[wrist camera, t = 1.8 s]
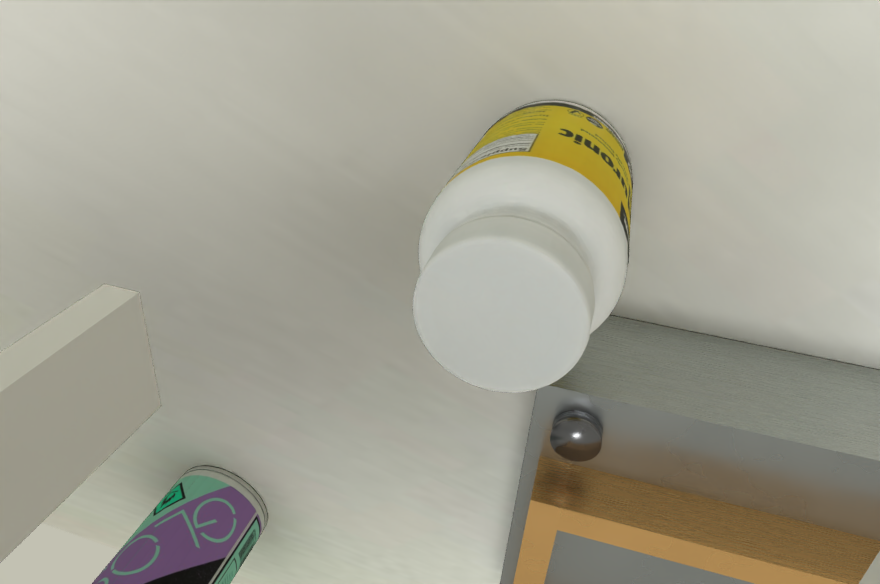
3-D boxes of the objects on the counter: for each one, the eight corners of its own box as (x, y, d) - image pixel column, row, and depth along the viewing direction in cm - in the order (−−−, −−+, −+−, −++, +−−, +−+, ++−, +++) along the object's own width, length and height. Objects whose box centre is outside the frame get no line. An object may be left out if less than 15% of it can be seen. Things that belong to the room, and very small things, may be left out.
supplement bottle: (657, 216, 22) (661, 392, 14) (513, 265, 25) (444, 440, 16) (598, 66, 20) (563, 167, 12) (449, 134, 23) (336, 257, 15)
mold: (505, 571, 33) (473, 712, 27) (557, 304, 25) (528, 423, 19) (801, 656, 30) (836, 833, 25) (969, 388, 22) (1084, 558, 16)
